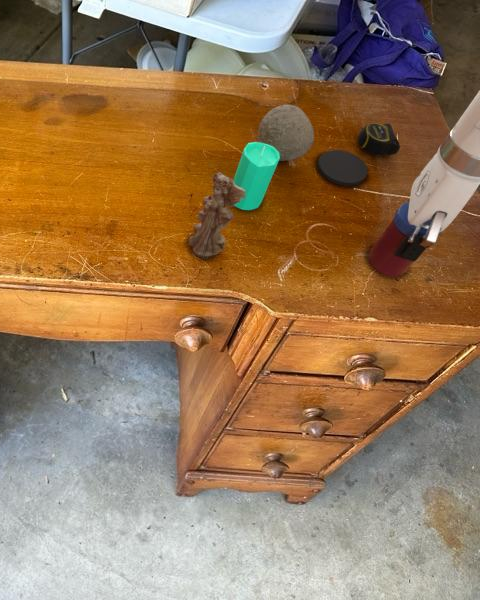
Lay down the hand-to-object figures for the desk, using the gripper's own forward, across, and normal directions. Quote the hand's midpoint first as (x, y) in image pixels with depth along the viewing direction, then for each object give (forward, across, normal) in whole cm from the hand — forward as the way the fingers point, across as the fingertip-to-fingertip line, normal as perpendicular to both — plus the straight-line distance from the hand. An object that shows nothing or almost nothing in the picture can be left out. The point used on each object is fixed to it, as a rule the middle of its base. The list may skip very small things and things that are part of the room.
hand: (407, 236), depth 90 cm
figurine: (+7, +9, -30) cm, 32 cm away
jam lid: (-4, 0, 0) cm, 4 cm away
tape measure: (+7, -29, -5) cm, 30 cm away
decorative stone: (+7, -18, -23) cm, 30 cm away
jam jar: (+6, 0, 0) cm, 6 cm away
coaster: (+6, -20, -11) cm, 23 cm away
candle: (+7, -4, -26) cm, 27 cm away
